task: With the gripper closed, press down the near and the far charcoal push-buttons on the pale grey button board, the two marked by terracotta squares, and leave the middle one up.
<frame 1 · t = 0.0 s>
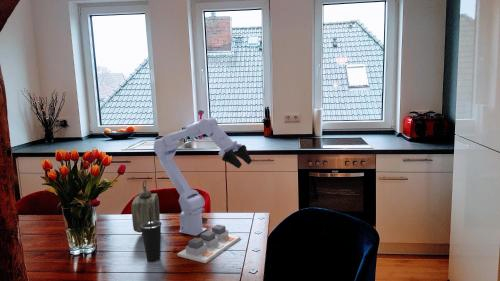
hand: (245, 164, 152), 32 cm above the table, tool tilted 50°, fingers open, 7 cm apart
button near: (196, 244, 148), point 4 cm above the table, slide at 0.0 cm
drinking cup: (153, 259, 145), on the table
button far: (218, 230, 160), point 4 cm above the table, slide at 0.0 cm
button middle: (207, 236, 154), point 4 cm above the table, slide at 0.0 cm
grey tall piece: (148, 236, 167), on the table
button board: (210, 247, 154), on the table
video game controller: (196, 220, 185), on the table
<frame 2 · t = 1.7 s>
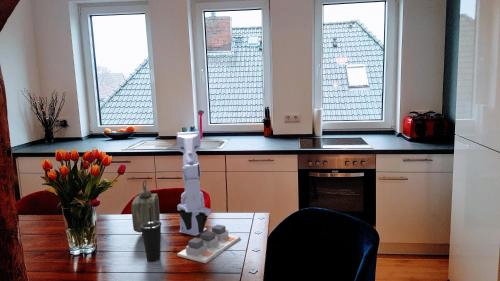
hand: (195, 230, 147), 9 cm above the table, tool pointing down, fingers open, 5 cm apart
nothing on the table moved.
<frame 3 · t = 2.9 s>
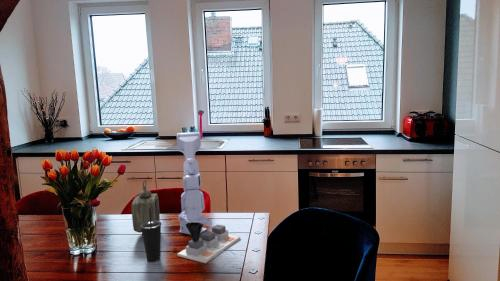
hand: (195, 240, 147), 5 cm above the table, tool pointing down, fingers closed, pressing on button near
button near: (196, 244, 148), point 4 cm above the table, slide at 0.1 cm, touching gripper
everything else where it was.
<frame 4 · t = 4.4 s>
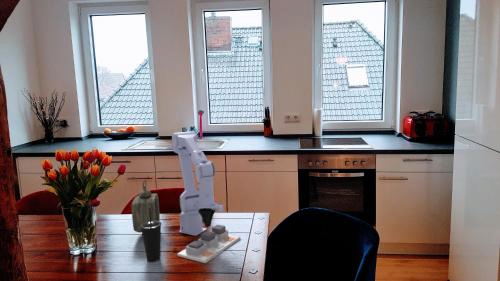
hand: (208, 226, 154), 8 cm above the table, tool pointing down, fingers closed
button near: (196, 247, 148), point 3 cm above the table, slide at 1.2 cm
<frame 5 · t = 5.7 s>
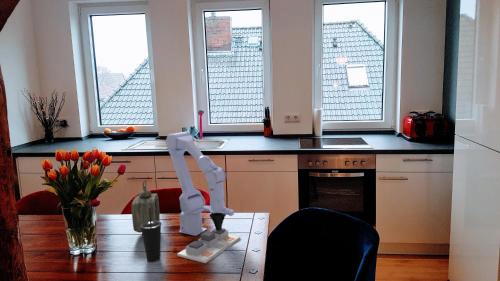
hand: (218, 229, 160), 4 cm above the table, tool pointing down, fingers closed, pressing on button far
button far: (218, 233, 160), point 3 cm above the table, slide at 1.2 cm, touching gripper
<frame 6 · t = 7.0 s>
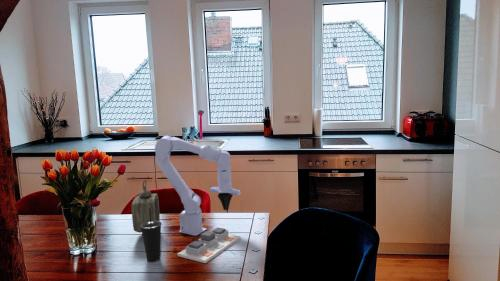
hand: (226, 209, 169), 9 cm above the table, tool pointing down, fingers closed
button far: (218, 233, 160), point 3 cm above the table, slide at 1.2 cm
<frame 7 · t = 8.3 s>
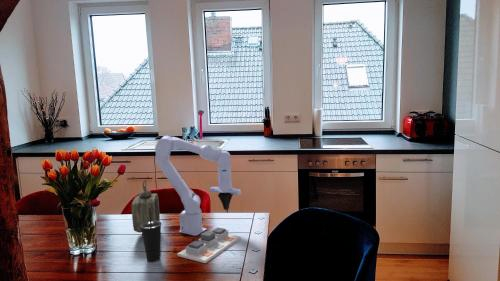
hand: (226, 209, 170), 9 cm above the table, tool pointing down, fingers closed
at the end: button near slide at 1.2 cm; button far slide at 1.2 cm; button middle slide at 0.0 cm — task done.
